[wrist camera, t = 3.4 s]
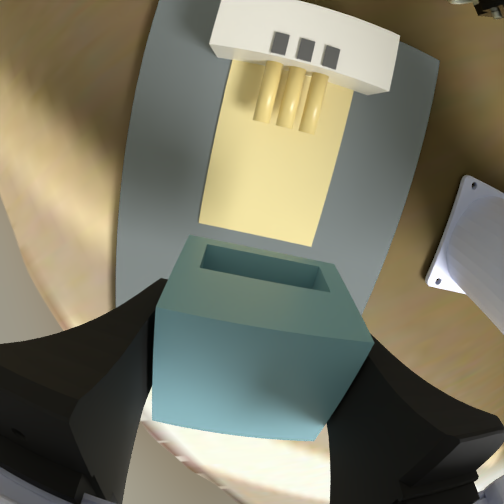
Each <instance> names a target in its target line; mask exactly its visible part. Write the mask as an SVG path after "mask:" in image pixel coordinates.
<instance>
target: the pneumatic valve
mask: <svg viewBox="0 0 504 504" xmlns="http://www.w3.org/2000/svg"><path fill="white" fill-rule="evenodd" d="M447 1H448V2H449V3H451V4H467V3H472V2H473V5H474V7H475V9H476V12H477V14H478V16H488V17H493V18H494V19H502V18H504V0H447Z"/></svg>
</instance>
